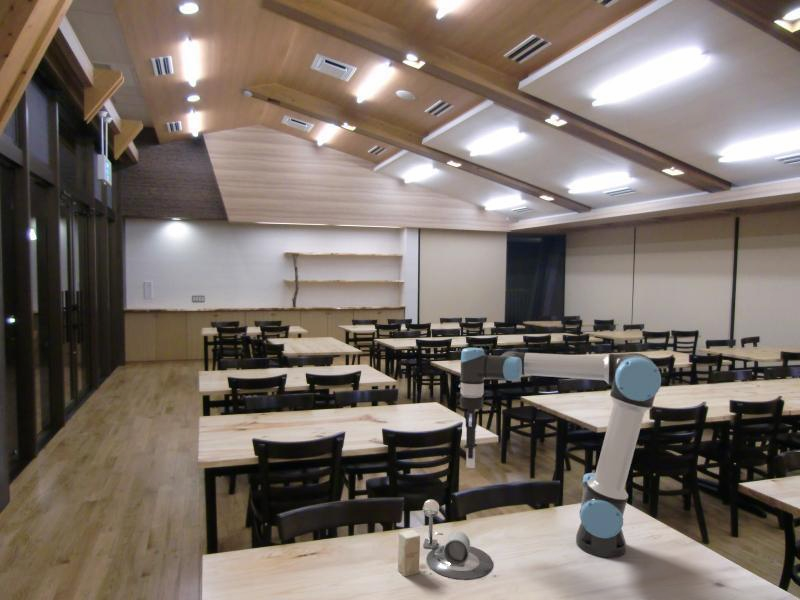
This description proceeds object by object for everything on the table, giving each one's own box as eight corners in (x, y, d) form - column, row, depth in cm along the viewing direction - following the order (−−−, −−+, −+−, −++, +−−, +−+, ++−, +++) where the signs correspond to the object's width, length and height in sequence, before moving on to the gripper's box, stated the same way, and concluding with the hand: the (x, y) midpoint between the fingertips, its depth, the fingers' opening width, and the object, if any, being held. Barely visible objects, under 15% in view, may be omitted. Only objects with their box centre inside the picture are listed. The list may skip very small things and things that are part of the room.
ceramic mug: (470, 553, 163) (470, 529, 163) (468, 567, 155) (468, 541, 155) (436, 550, 165) (436, 526, 165) (433, 563, 157) (433, 538, 157)
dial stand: (443, 543, 170) (444, 499, 170) (442, 549, 167) (442, 504, 166) (423, 541, 172) (424, 497, 171) (421, 547, 168) (422, 502, 168)
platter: (493, 549, 167) (493, 548, 167) (491, 583, 148) (491, 582, 148) (431, 542, 171) (431, 541, 171) (421, 574, 152) (421, 573, 152)
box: (404, 577, 150) (404, 538, 150) (397, 569, 154) (397, 532, 154) (420, 572, 153) (420, 535, 153) (412, 565, 157) (413, 528, 156)
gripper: (461, 391, 179) (460, 459, 179) (458, 398, 166) (457, 472, 167) (484, 392, 177) (482, 461, 178) (482, 400, 165) (481, 474, 165)
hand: (470, 466), depth 172 cm, fingers closed
